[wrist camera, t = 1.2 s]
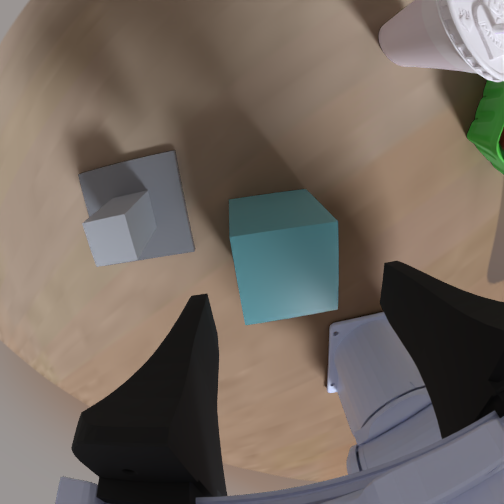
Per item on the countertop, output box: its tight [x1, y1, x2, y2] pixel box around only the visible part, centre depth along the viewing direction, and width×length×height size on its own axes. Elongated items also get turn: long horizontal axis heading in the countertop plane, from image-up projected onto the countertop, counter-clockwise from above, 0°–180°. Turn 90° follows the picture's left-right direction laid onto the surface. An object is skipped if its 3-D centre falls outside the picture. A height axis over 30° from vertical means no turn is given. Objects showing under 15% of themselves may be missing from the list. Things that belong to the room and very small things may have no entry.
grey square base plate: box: [78, 150, 195, 267], centre depth 18 cm, size 7×7×6 cm
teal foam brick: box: [229, 189, 339, 325], centre depth 18 cm, size 5×5×7 cm
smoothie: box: [379, 0, 504, 82], centre depth 10 cm, size 6×6×14 cm
